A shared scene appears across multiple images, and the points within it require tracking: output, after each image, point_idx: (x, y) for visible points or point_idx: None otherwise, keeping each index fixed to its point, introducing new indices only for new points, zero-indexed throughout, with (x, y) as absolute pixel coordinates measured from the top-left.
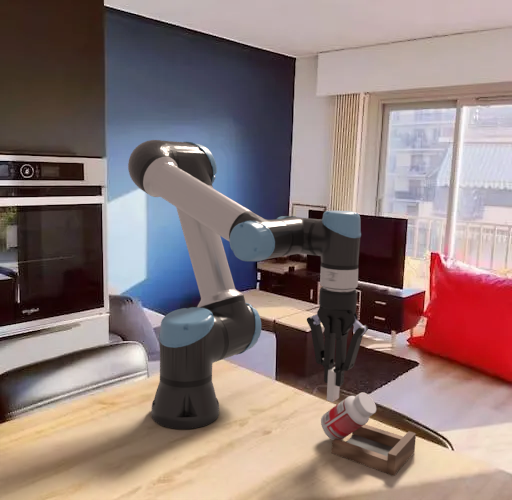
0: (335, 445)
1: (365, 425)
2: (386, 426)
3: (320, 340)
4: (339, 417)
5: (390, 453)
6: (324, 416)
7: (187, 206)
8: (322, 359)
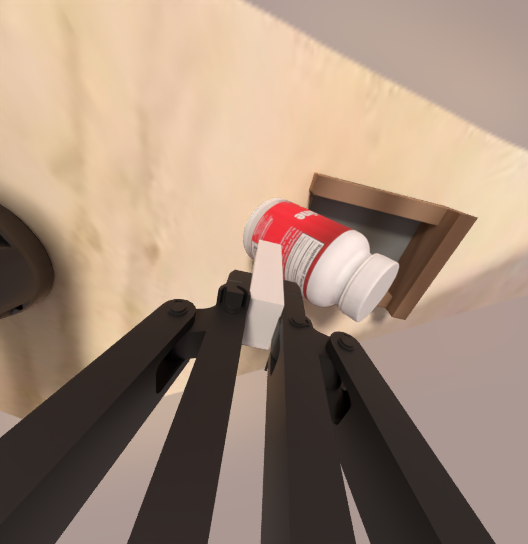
0: None
1: (345, 188)
2: (397, 89)
3: (87, 469)
4: None
5: (396, 315)
6: (252, 254)
7: None
8: (188, 356)
